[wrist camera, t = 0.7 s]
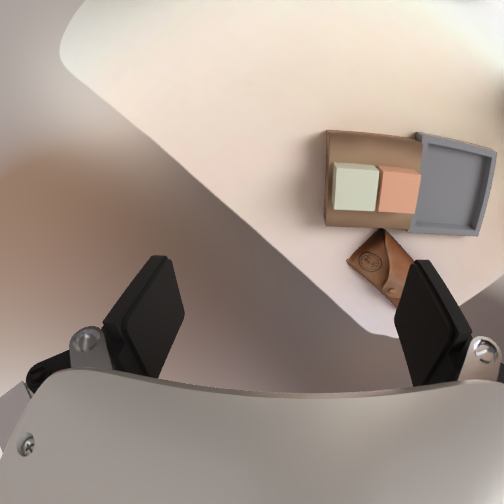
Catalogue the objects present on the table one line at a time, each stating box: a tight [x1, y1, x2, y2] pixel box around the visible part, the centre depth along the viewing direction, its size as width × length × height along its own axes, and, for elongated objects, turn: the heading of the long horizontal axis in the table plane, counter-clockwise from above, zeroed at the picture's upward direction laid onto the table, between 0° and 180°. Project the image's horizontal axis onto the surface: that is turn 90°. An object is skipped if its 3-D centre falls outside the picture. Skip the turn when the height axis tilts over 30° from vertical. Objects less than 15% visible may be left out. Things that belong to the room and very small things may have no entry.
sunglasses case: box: [346, 228, 414, 308], centre depth 40 cm, size 18×7×7 cm
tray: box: [406, 132, 497, 236], centre depth 31 cm, size 14×14×2 cm
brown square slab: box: [324, 130, 423, 229], centre depth 32 cm, size 12×12×3 cm
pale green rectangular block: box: [332, 162, 379, 211], centre depth 30 cm, size 5×5×2 cm
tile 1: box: [375, 165, 421, 214], centre depth 30 cm, size 5×5×2 cm
